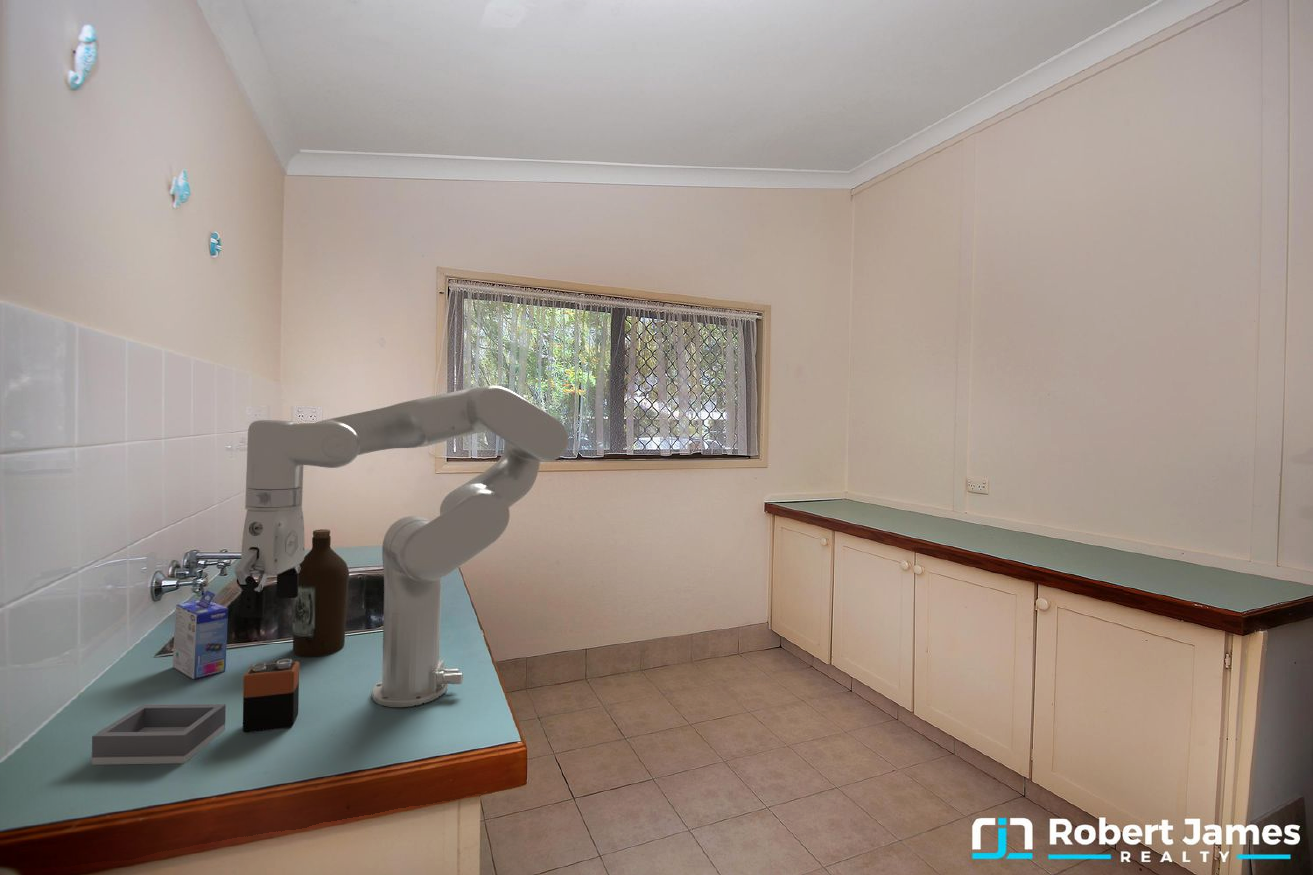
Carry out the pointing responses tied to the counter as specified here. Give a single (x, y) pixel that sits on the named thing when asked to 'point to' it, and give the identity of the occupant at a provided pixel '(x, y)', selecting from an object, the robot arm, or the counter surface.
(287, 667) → the battery
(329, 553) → the olive oil
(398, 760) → the counter surface
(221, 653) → the ink cartridge box
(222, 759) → the counter surface
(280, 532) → the robot arm
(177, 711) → the charging cradle
